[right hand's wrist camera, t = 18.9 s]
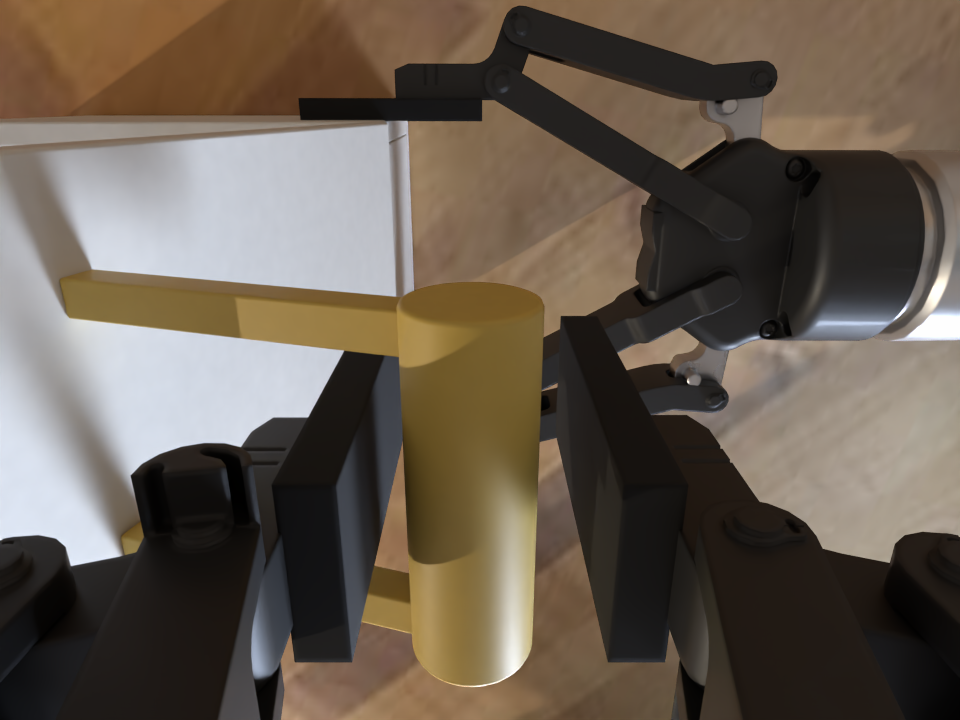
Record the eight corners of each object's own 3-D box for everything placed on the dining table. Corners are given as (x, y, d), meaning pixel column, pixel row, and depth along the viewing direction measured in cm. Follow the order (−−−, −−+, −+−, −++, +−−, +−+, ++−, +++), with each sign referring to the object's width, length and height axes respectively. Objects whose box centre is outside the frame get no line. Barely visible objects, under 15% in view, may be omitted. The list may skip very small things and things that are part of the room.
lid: (8, 730, 12) (482, 896, 9) (-196, 158, 8) (484, 183, 6) (381, 392, 25) (613, 423, 23) (365, 122, 22) (638, 125, 19)
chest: (130, 314, 35) (9, 388, 26) (90, 115, 31) (-67, 121, 22) (415, 313, 35) (392, 388, 26) (407, 115, 31) (378, 121, 22)
